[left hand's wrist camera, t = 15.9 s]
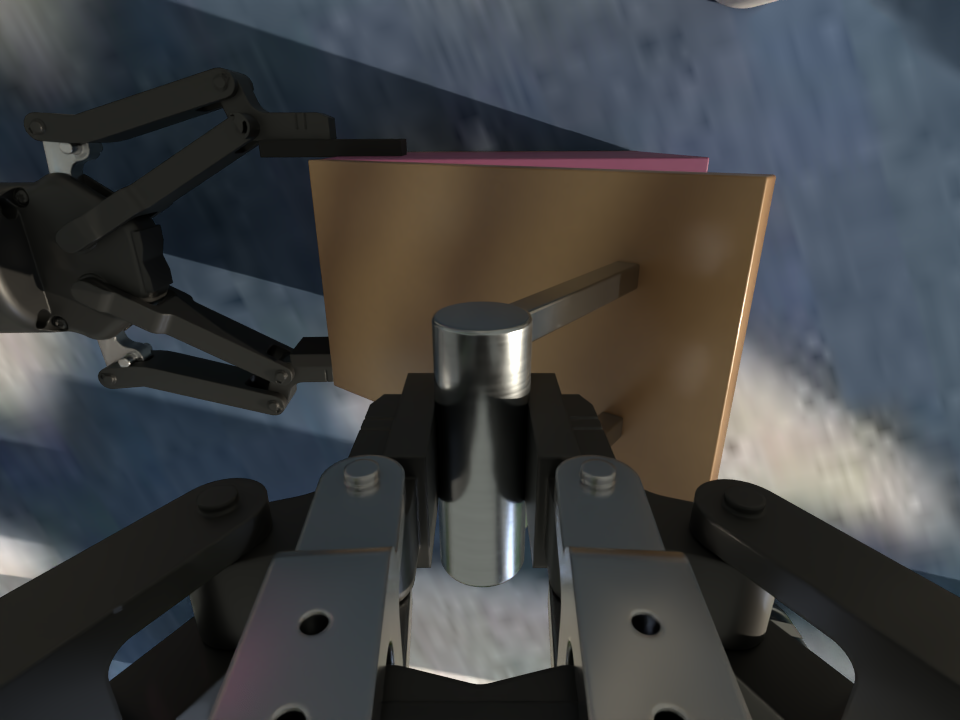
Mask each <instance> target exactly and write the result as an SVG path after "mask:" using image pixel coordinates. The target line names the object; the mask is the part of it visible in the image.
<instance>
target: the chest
mask: <svg viewBox="0 0 960 720" xmlns="http://www.w3.org/2000/svg"><path fill="white" fill-rule="evenodd" d="M326 159H331V160H360V161H390V162H419V163H448V164H478V165H507V166H536V167H566V168H595V169H624V170H653V171H683V172H707V169H708V162H709V158H708V157H698V156H686V155H674V154H662V153H650V152H638V151H451V152H407V155H404V156H348V157H332V158H326ZM321 160H322V159H321Z"/></svg>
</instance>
